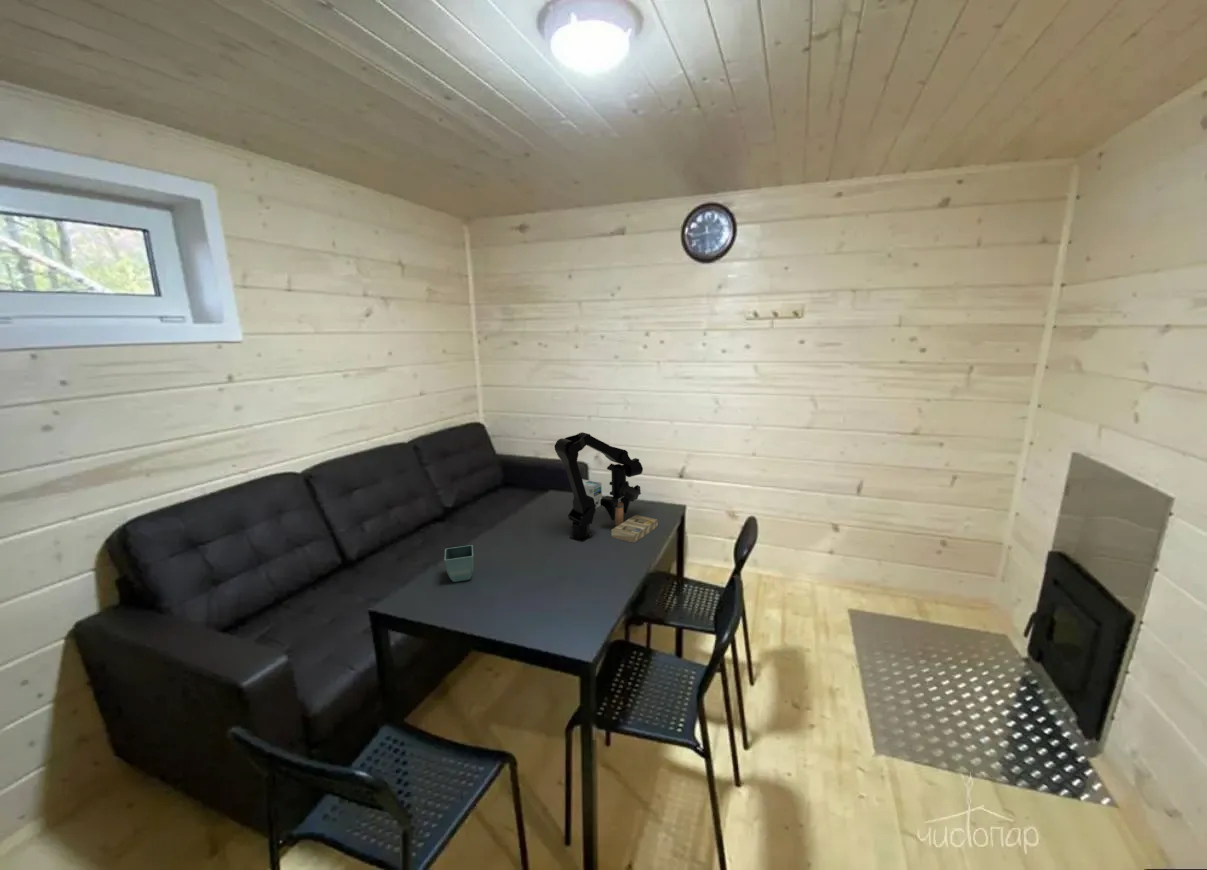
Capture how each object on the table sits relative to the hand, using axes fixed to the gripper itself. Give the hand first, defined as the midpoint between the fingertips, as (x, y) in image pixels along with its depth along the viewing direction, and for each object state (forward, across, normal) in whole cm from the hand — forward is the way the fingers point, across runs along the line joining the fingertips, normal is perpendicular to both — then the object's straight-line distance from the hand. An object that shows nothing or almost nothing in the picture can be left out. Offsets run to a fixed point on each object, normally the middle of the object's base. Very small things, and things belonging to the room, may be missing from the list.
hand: (619, 516), depth 204 cm
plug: (+3, 0, 0) cm, 3 cm away
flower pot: (+4, -64, +20) cm, 67 cm away
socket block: (+3, -3, -9) cm, 10 cm away
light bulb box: (+4, +12, +24) cm, 27 cm away
